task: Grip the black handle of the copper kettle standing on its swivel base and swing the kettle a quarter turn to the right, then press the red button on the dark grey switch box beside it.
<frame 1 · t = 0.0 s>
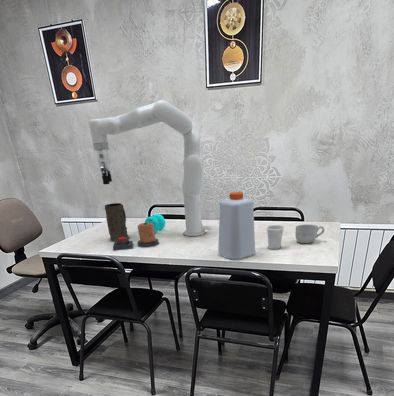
hand: (107, 182, 185), 31 cm above the table, tool pointing down, fingers open, 9 cm apart
kettle: (145, 231, 188), point 7 cm above the table, hinge at 0.0°
switch box: (123, 247, 188), on the table
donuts: (156, 232, 213), on the table
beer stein: (121, 238, 206), on the table
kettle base: (148, 244, 191), on the table
plastic bottle: (236, 254, 167), on the table
dixie cup: (274, 247, 172), on the table
button: (122, 239, 186), point 4 cm above the table, slide at 0.1 cm
teacup: (308, 242, 176), on the table
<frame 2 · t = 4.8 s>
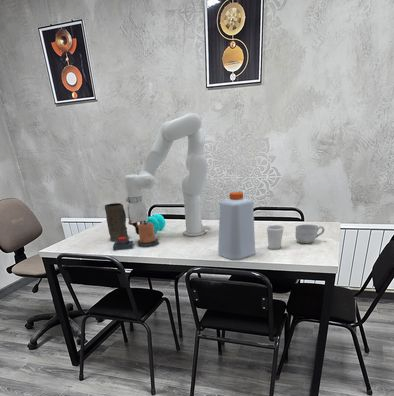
hand: (140, 233, 194), 4 cm above the table, tool pointing down, fingers closed on kettle
kettle: (145, 231, 188), point 7 cm above the table, hinge at 0.0°, touching gripper
everything else where it was.
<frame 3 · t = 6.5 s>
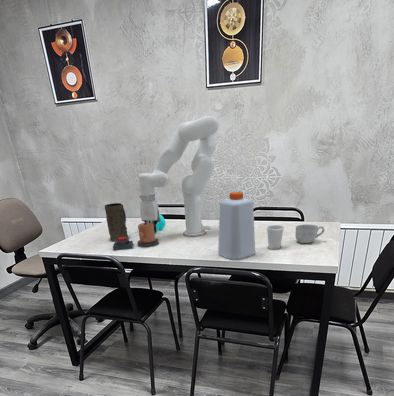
hand: (152, 232, 195), 4 cm above the table, tool pointing down, fingers closed on kettle
kettle: (147, 231, 188), point 7 cm above the table, hinge at -50.4°, touching gripper
everything else where it was.
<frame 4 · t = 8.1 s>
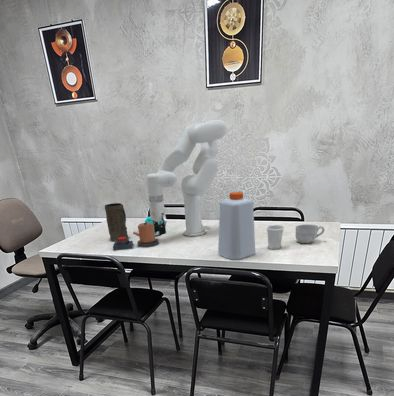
hand: (160, 232, 192), 5 cm above the table, tool pointing down, fingers open, 6 cm apart
kettle: (148, 231, 188), point 7 cm above the table, hinge at -89.4°
everything else where it was.
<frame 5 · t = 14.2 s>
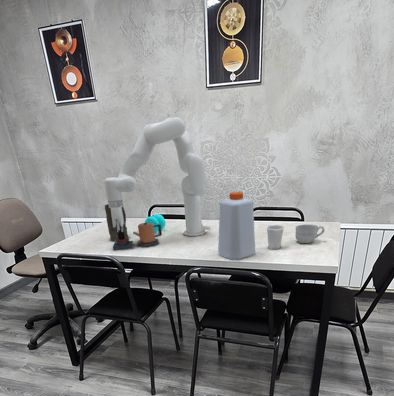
hand: (121, 239, 186), 5 cm above the table, tool pointing down, fingers closed
button: (122, 240, 186), point 4 cm above the table, slide at -0.7 cm, touching gripper
everything else where it was.
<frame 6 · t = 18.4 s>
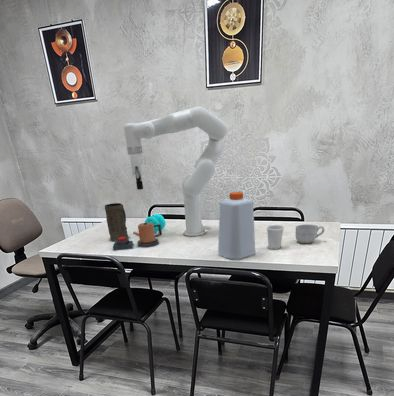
hand: (140, 189, 186), 27 cm above the table, tool pointing down, fingers closed
button: (122, 239, 186), point 4 cm above the table, slide at 0.1 cm
everything else where it was.
at the end: kettle at -89° (first picture: +0°); button pushed in 1.0 cm at the most during the clip, back to where it started at the end; button slide at 0.1 cm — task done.
